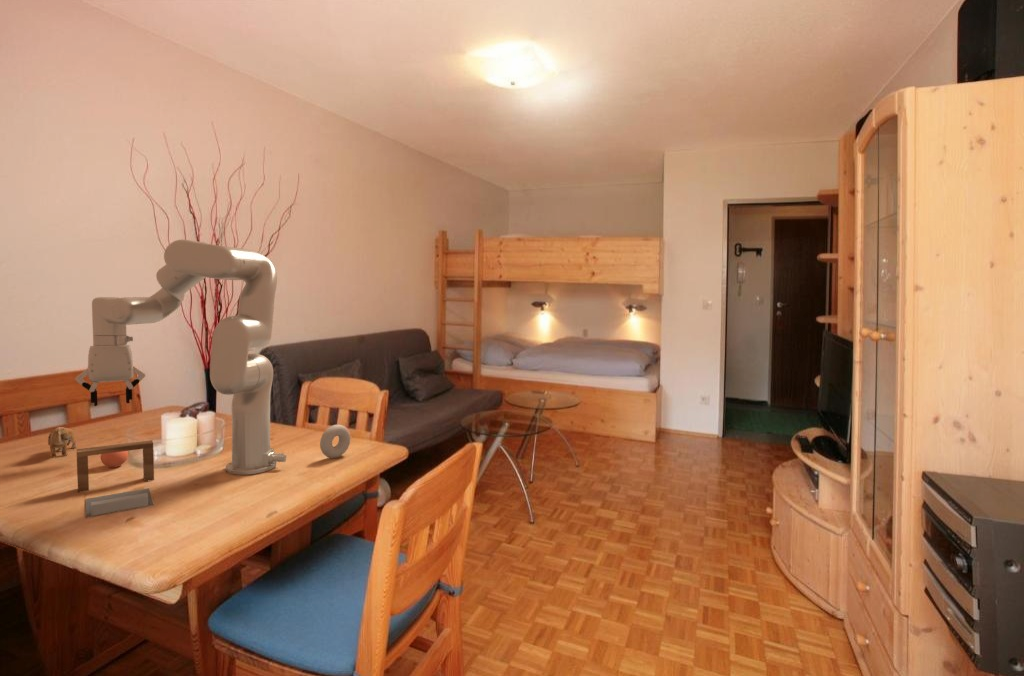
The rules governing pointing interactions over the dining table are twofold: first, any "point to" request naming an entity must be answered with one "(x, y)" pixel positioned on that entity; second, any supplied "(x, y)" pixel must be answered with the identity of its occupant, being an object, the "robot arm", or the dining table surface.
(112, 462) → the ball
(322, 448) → the donut
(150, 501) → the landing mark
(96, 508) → the wall
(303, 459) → the dining table surface
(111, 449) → the bridge
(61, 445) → the brown toy animal
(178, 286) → the robot arm
